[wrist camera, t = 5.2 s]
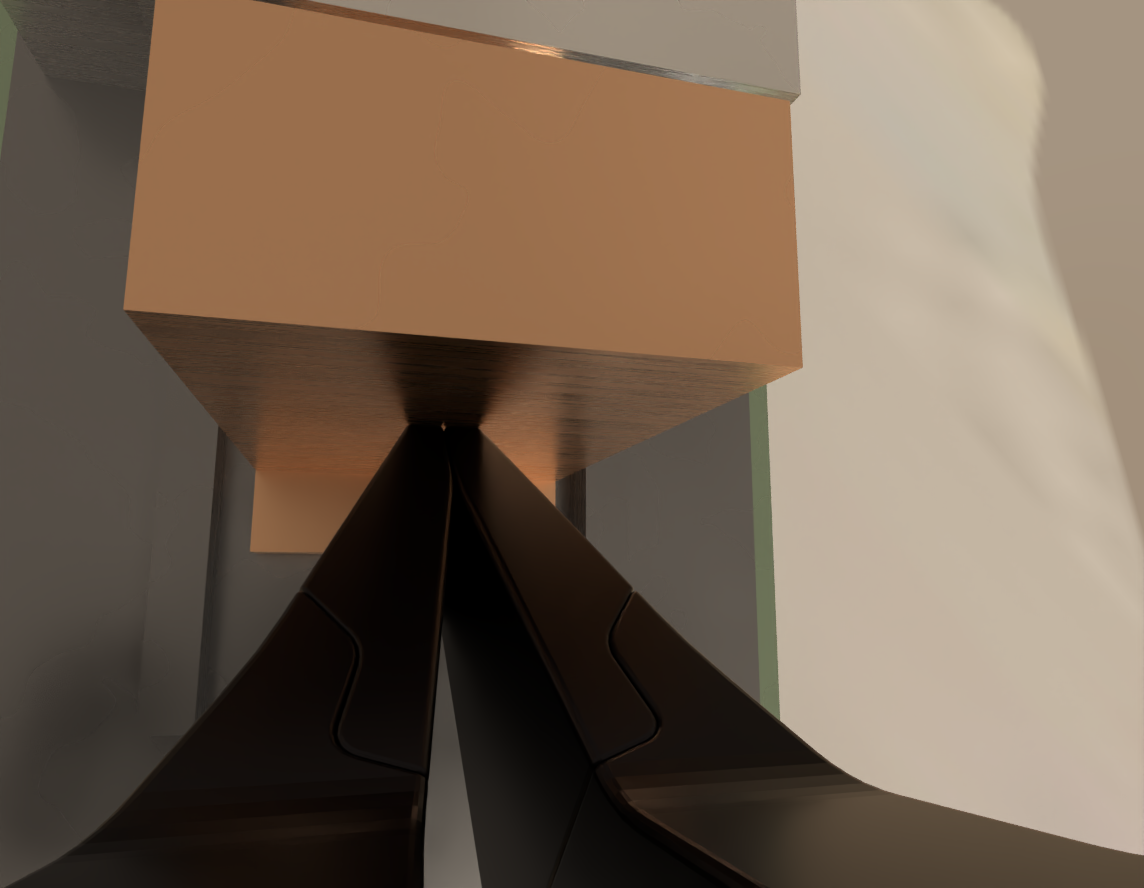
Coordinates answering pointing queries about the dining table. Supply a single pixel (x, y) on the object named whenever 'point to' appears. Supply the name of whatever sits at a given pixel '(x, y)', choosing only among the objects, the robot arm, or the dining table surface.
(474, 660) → the robot arm
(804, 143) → the dining table surface
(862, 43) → the dining table surface
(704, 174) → the orange block
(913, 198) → the dining table surface
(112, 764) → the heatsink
